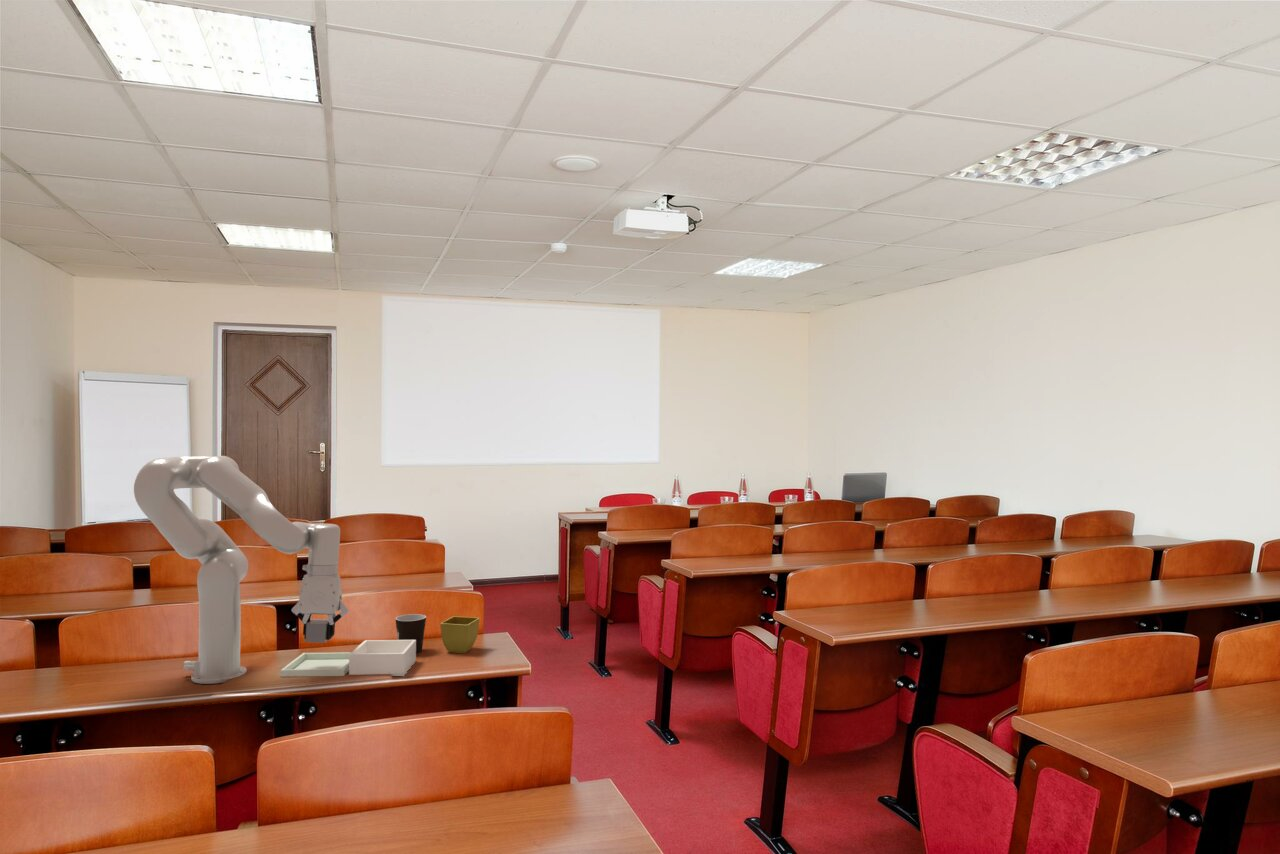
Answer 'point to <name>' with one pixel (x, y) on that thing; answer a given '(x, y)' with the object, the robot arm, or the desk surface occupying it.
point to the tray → (317, 665)
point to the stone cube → (317, 630)
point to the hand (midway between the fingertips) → (318, 637)
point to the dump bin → (383, 657)
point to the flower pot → (459, 633)
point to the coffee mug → (411, 629)
